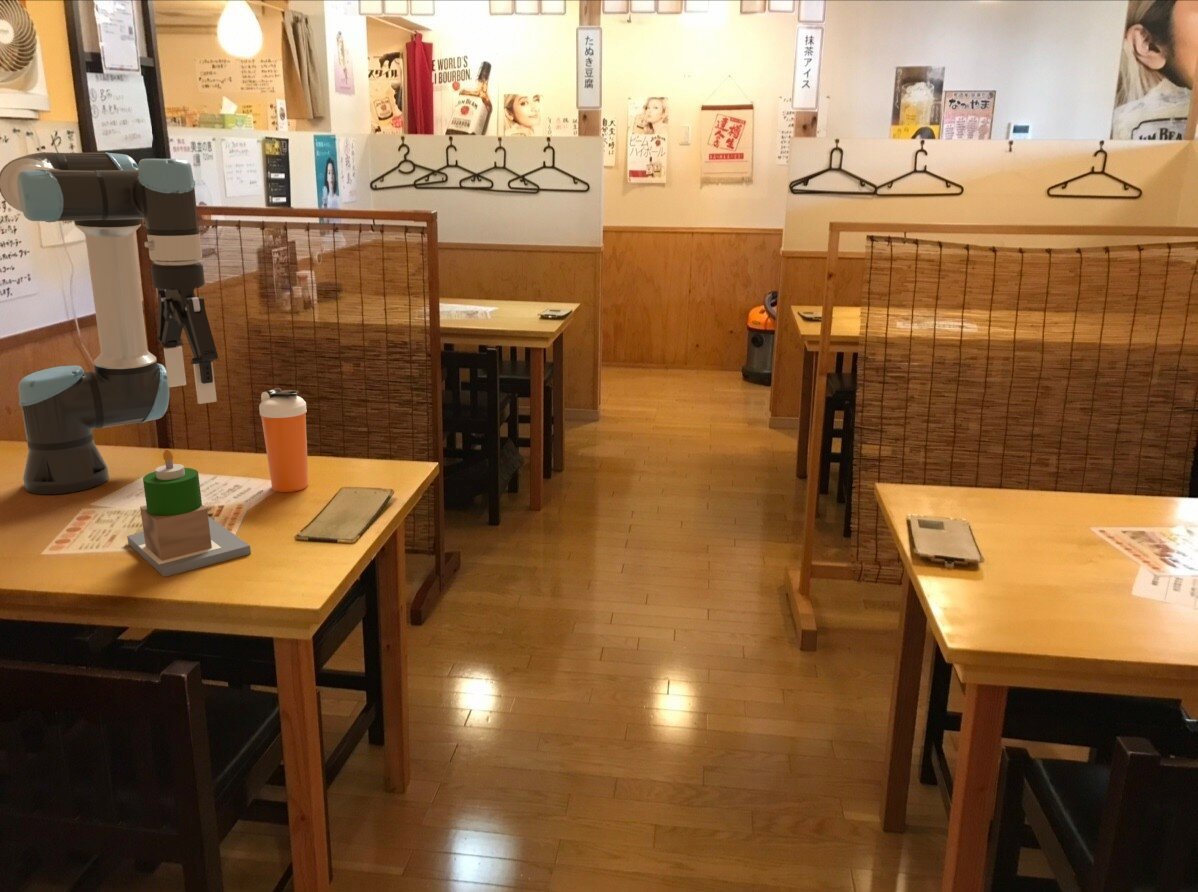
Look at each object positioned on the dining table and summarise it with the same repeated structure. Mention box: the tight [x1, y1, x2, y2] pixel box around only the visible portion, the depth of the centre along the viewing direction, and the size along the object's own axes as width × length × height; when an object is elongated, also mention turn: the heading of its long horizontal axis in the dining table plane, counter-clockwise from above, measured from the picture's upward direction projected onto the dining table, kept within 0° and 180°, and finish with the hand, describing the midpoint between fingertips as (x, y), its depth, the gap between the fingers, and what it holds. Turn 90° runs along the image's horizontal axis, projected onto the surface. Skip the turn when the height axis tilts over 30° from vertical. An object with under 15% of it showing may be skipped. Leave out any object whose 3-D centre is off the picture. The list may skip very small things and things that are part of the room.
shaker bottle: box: [258, 387, 309, 493], centre depth 187 cm, size 9×9×20 cm
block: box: [139, 504, 212, 561], centre depth 154 cm, size 8×8×7 cm
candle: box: [142, 448, 203, 516], centre depth 152 cm, size 8×8×10 cm
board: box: [127, 516, 252, 578], centre depth 159 cm, size 18×14×2 cm
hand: (191, 394), depth 152 cm, fingers open, 13 cm apart
